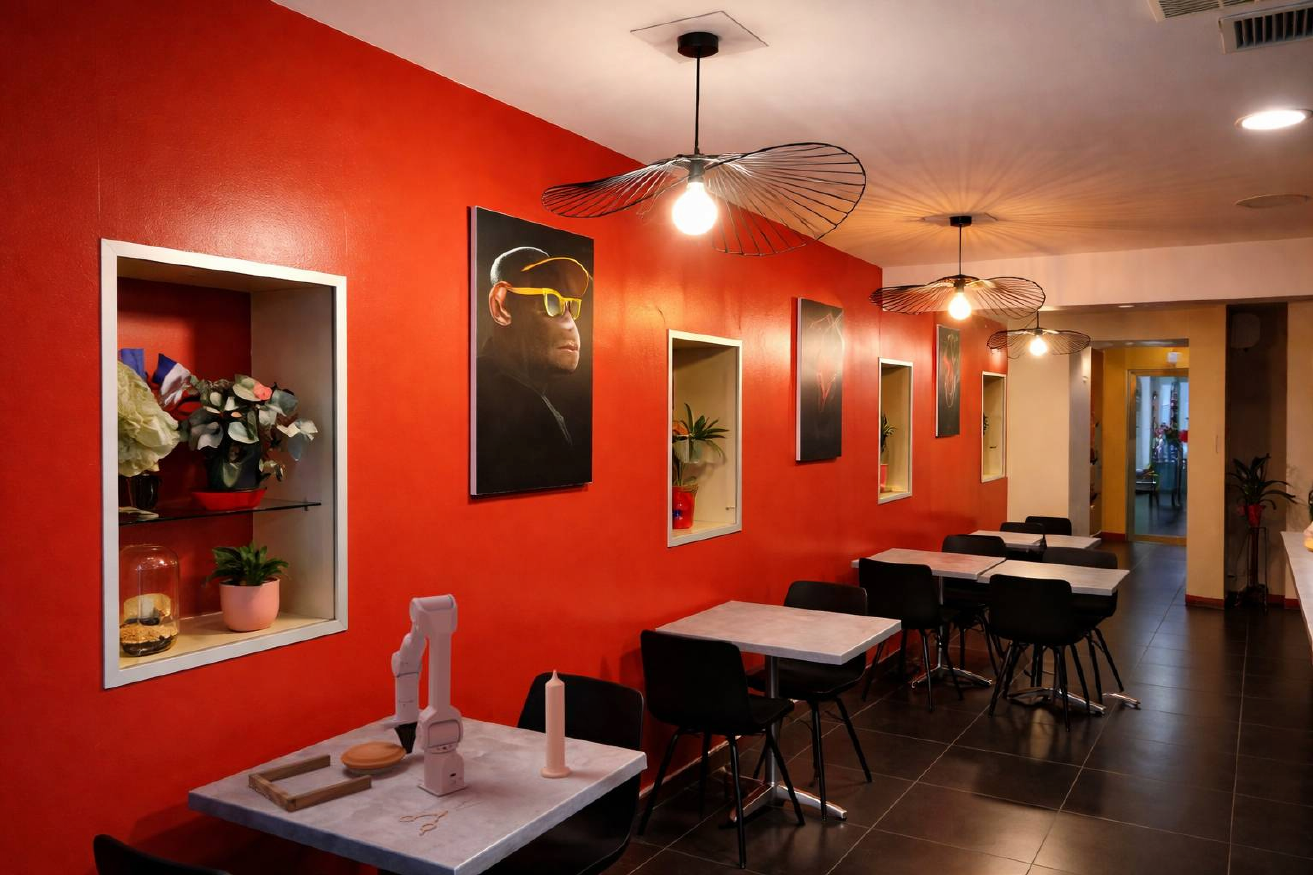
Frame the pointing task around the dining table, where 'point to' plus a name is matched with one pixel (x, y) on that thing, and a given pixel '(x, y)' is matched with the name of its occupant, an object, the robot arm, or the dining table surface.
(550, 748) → the candle
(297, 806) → the serving rack
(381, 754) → the pie
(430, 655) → the robot arm
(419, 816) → the scissors
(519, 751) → the dining table surface
